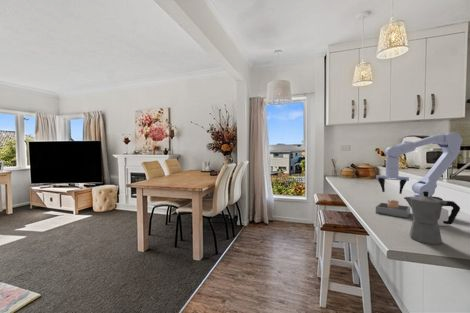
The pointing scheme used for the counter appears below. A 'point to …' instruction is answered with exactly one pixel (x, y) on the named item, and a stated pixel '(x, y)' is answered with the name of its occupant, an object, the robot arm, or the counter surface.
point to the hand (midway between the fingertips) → (391, 192)
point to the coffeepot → (429, 217)
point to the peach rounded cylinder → (393, 204)
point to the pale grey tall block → (442, 214)
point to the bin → (393, 210)
